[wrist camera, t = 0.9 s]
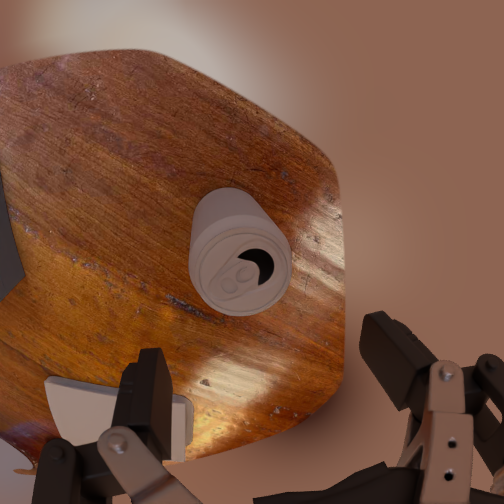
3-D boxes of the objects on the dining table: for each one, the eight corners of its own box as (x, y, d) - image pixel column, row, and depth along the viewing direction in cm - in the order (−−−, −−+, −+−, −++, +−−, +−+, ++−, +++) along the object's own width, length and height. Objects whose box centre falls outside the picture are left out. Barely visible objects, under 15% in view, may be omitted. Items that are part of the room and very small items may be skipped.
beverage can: (272, 227, 29) (316, 284, 18) (218, 263, 29) (230, 338, 18) (236, 172, 26) (263, 197, 15) (179, 212, 27) (164, 265, 16)
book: (192, 448, 41) (193, 466, 37) (66, 429, 36) (62, 446, 32) (194, 395, 36) (195, 417, 32) (41, 371, 31) (32, 390, 27)
